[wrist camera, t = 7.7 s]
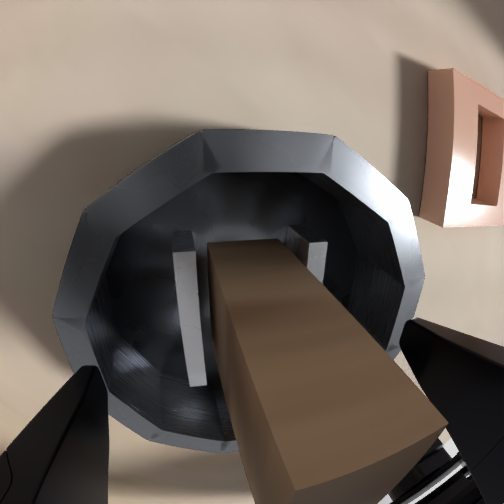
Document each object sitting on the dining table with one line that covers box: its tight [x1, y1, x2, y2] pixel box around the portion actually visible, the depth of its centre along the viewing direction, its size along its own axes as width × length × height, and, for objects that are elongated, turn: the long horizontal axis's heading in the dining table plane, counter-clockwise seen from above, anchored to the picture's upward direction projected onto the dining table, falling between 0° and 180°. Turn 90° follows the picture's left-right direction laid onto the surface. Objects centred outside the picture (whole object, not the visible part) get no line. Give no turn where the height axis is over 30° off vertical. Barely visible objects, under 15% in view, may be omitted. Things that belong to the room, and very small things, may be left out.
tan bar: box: [207, 238, 448, 504], centre depth 7 cm, size 4×2×8 cm, turn 178°
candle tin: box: [52, 129, 425, 453], centre depth 10 cm, size 11×11×4 cm
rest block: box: [419, 68, 504, 227], centre depth 11 cm, size 7×7×2 cm
